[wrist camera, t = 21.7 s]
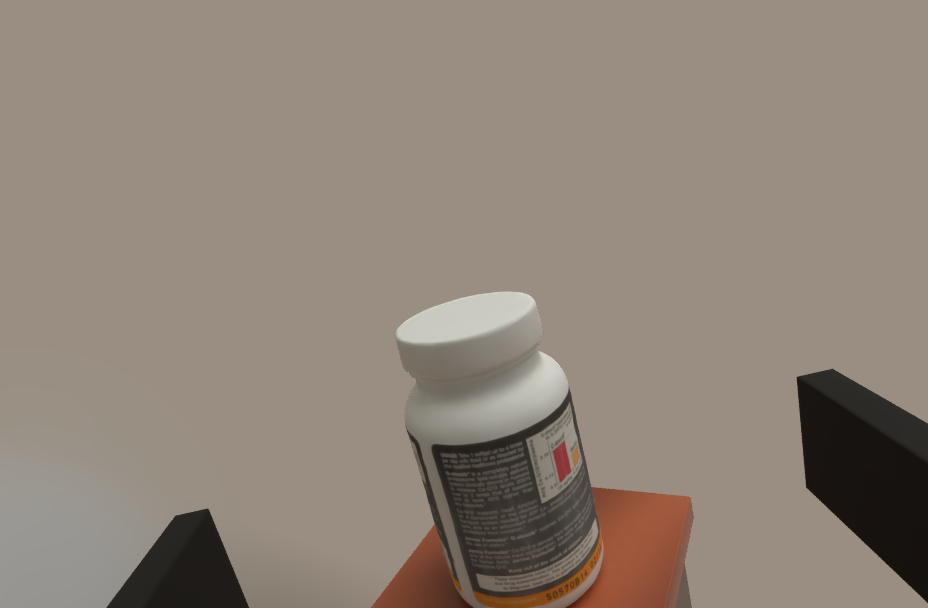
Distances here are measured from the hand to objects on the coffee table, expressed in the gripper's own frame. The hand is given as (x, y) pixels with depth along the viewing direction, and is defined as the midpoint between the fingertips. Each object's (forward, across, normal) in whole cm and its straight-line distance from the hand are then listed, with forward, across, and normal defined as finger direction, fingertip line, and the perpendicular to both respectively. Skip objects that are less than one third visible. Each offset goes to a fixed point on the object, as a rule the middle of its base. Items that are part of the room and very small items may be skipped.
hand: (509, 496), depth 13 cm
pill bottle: (+7, 0, -8) cm, 10 cm away
